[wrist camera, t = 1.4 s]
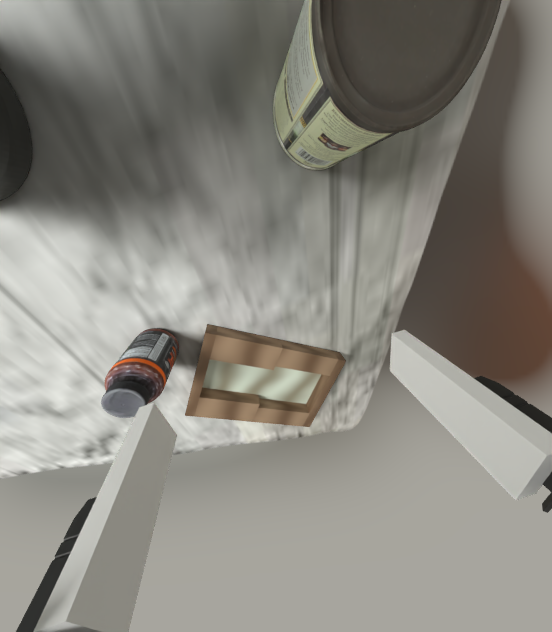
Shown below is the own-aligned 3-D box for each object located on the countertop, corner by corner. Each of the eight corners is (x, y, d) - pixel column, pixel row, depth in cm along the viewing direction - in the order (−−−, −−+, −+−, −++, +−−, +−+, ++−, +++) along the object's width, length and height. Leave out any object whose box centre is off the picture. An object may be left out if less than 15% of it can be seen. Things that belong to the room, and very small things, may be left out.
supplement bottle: (179, 362, 34) (155, 426, 24) (136, 359, 32) (92, 426, 22) (181, 328, 31) (155, 384, 21) (135, 324, 30) (84, 381, 20)
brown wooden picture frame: (187, 403, 37) (184, 415, 35) (207, 324, 32) (205, 332, 29) (305, 416, 44) (309, 426, 42) (339, 352, 38) (346, 361, 36)
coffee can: (365, 40, 21) (548, -203, 9) (361, 164, 26) (477, 120, 14) (264, 49, 20) (308, -207, 8) (278, 176, 25) (320, 140, 13)
